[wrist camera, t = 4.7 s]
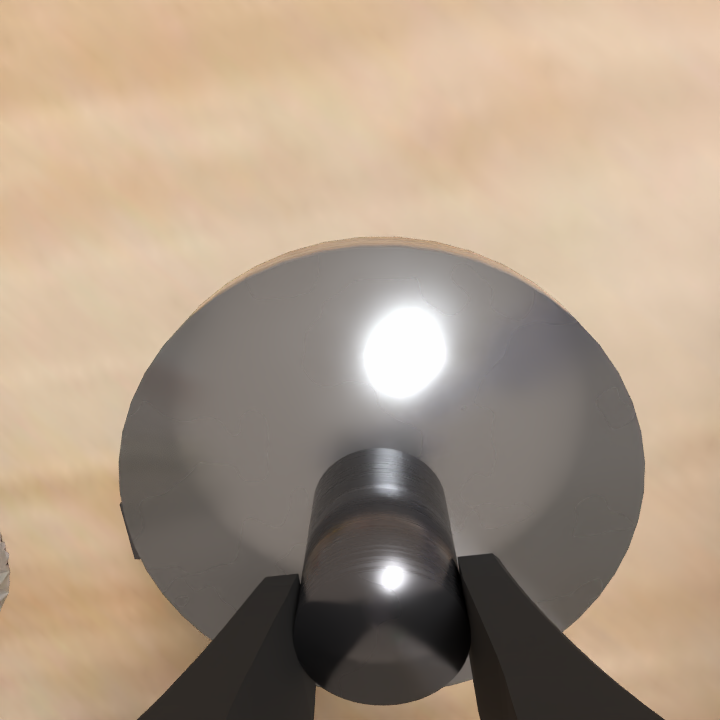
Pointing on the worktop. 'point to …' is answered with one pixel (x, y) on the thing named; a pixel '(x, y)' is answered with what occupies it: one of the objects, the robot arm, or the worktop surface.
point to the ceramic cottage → (3, 573)
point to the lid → (380, 456)
